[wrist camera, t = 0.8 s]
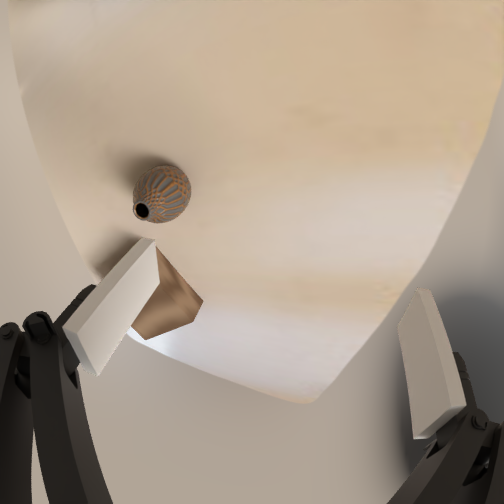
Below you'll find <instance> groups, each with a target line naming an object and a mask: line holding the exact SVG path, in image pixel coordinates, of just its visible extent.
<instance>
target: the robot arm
mask: <svg viewBox="0 0 504 504" xmlns="http://www.w3.org/2000/svg"><path fill="white" fill-rule="evenodd" d="M159 283H160V280H159V272H158V264H157V255H156V245H155V240H153V239H148V238H143V237H142V238H141V239H140V240H139V241H138V242H137V243H136V244H135V245H134V246H133V247H132V248H131V249H130V250H129V251H128V252H127V253H126V255H125V256H124V257H123V258H122V259H121V260H120V261H119V262H118V263H117V264H116V265H115V266H114V267H113V269H112V270H111V271H110V272H109V273H108V274H107V275H106V276H105V277H104V278H103V280H102V281H101V282H100V283H99V284H98V285H97V286H96V285H92V284H91V285H89V286H88V287H86V288H84V289H83V290H82V291H81V292H80V293H79V294H78V295H77V296H76V299H74V300H73V301H72V302H71V304H70V305H69V306H68V307H67V308H66V309H65V310H64V311H63V312H62V314H61V315H60V316H59V317H58V318H57V320H56V321H55V322H54V323H52V320H51V318H50V316H49V315H48V314H47V313H46V312H43V311H38V312H34V313H32V314H30V315H29V316H28V317H27V318H26V319H25V320H24V322H23V325H22V327H23V328H24V330H25V332H22V331H21V330H20V328H19V326H18V325H17V324H16V323H13V322H9V323H6V324H4V325H2V326H1V327H0V504H32V493H31V463H32V443H33V430H34V432H35V439H36V445H37V451H38V457H39V462H40V467H41V472H42V476H43V481H44V485H45V489H46V493H47V497H48V500H49V504H113V502H112V500H111V497H110V494H109V492H108V489H107V486H106V483H105V480H104V477H103V474H102V471H101V468H100V465H99V462H98V459H97V455H96V452H95V448H94V445H93V441H92V437H91V434H90V429H89V425H88V421H87V416H86V412H85V407H84V402H83V397H82V391H81V386H80V380H79V374H78V370H77V366H78V365H79V363H81V365H82V367H83V369H84V370H85V371H87V372H89V373H91V374H93V375H95V376H99V375H100V373H101V371H102V370H103V368H104V367H105V365H106V364H107V362H108V360H109V359H110V357H111V356H112V353H113V352H114V351H115V349H116V348H117V346H118V345H119V343H120V341H121V340H122V338H123V337H124V335H125V334H126V332H127V331H128V329H129V328H130V326H131V325H132V323H133V322H134V320H135V319H136V317H137V316H138V314H139V313H140V311H141V310H142V308H143V307H144V305H145V304H146V302H147V301H148V299H149V298H150V296H151V295H152V294H153V292H154V291H155V289H156V288H157V286H158V285H159ZM397 329H398V334H399V339H400V344H401V349H402V355H403V360H404V366H405V372H406V378H407V385H408V393H409V400H410V408H411V417H412V427H413V439H422V438H429V437H430V436H432V435H433V434H434V433H435V432H436V435H437V439H436V440H434V441H433V442H431V443H430V444H429V445H427V446H426V447H425V448H424V450H427V449H428V448H429V449H428V450H427V452H426V454H425V455H424V456H423V458H422V459H421V461H420V462H419V464H418V465H417V466H416V468H415V469H414V471H413V472H412V473H411V475H410V476H409V477H408V479H407V480H406V481H405V483H404V484H403V485H402V486H401V487H400V489H399V490H398V491H397V492H396V494H395V495H394V496H393V497H392V498H391V500H390V501H389V502H388V503H387V504H504V422H502V423H501V424H498V423H494V422H491V421H489V419H488V417H487V415H486V414H485V412H484V411H482V410H480V409H477V406H476V402H475V398H474V394H473V390H472V386H471V382H470V380H469V375H468V373H467V369H466V365H465V362H464V360H463V359H462V357H461V356H460V355H459V353H458V352H452V349H451V346H450V343H449V340H448V337H447V334H446V331H445V329H444V325H443V323H442V320H441V317H440V314H439V312H438V309H437V306H436V304H435V302H434V299H433V296H432V294H431V291H430V290H428V289H422V288H417V290H416V292H415V294H414V296H413V298H412V300H411V302H410V304H409V306H408V308H407V310H406V311H405V313H404V315H403V317H402V319H401V321H400V323H399V324H398V326H397ZM488 463H489V464H488Z"/></svg>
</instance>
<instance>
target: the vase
mask: <svg viewBox="0 0 504 504" xmlns="http://www.w3.org/2000/svg"><path fill="white" fill-rule="evenodd" d="M190 197H191V185H190V182H189V180H188V178H187V176H186V175H185V174H184V173H183V172H182V171H181V170H179V169H178V168H175V167H172V166H158V167H155V168H153V169H151V170H149V171H147V172H146V173H145V174H143V175H142V177H141V178H140V179H139V180H138V182H137V184H136V186H135V188H134V192H133V203H134V205H133V212H134V214H135V216H136V217H137V218H138V219H140V220H147V221H149V222H152V223H165V222H168V221H171V220H173V219H175V218H176V217H178V216H179V215H180V214H181V213H182V212H183V211H184V210H185V208H186V207H187V205H188V203H189V200H190Z"/></svg>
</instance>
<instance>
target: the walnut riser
mask: <svg viewBox="0 0 504 504" xmlns="http://www.w3.org/2000/svg"><path fill="white" fill-rule="evenodd" d="M156 255H157V264H158V272H159V280H160V283H159V285H158V286H157V288H156V289H155V291H154V292H153V294H152V295H151V296H150V298H149V299H148V301H147V302H146V304H145V305H144V307H143V308H142V310H141V311H140V313H139V314H138V316H137V317H136V319H135V320H134V322H133V323H132V325H131V327H132V328H133V329H134V330H135V331H136V332H137V333H138V334H139V335H140V336H141V337H142V338H143V339H145V340H147V339H150V338H153V337H155V336H158V335H161V334H163V333H166V332H168V331H171V330H174V329H176V328H179V327H181V326H184V325H186V324H189V323H192V322H193V321H194V319H195V317H196V315H197V313H198V311H199V309H200V307H201V305H202V303H203V300H202V299H201V298H200V297H199V296H198V295H197V293H196V292H195V291H194V290H193V289H192V288H191V287H190V286H189V284H188V283H187V282H186V281H185V280H184V279H183V278H182V276H181V275H180V274H179V273H178V272H177V271H176V269H175V268H174V267H173V266H172V265H171V264H170V262H169V261H168V260H167V259H166V258H165V256H164V255H163V254H162V253H161V252H160V251H159V249H158V248H157V247H156Z"/></svg>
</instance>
